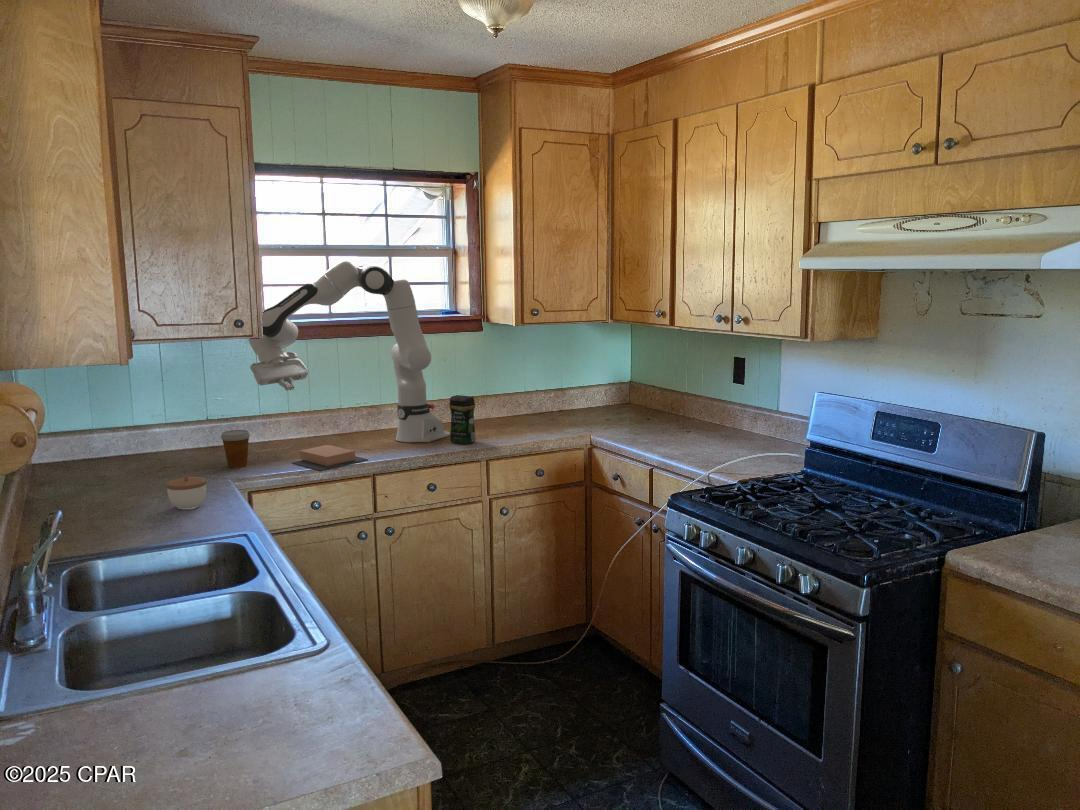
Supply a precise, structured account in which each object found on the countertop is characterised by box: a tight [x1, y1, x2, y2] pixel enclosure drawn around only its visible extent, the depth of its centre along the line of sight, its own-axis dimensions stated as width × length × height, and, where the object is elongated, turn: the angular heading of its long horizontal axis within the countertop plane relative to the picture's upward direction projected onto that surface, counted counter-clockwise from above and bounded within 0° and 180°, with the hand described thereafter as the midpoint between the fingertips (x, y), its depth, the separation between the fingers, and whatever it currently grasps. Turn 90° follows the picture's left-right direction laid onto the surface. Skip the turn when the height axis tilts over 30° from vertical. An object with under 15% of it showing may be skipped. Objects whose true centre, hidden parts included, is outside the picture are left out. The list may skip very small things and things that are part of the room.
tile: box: [299, 444, 356, 466], centre depth 296 cm, size 12×3×16 cm
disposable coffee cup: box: [220, 429, 251, 468], centre depth 289 cm, size 10×10×12 cm
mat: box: [291, 455, 369, 472], centre depth 295 cm, size 20×17×1 cm
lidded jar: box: [165, 475, 207, 509], centre depth 241 cm, size 11×11×9 cm
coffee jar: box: [448, 394, 476, 445], centre depth 323 cm, size 10×8×19 cm
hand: (290, 389), depth 305 cm, fingers closed
